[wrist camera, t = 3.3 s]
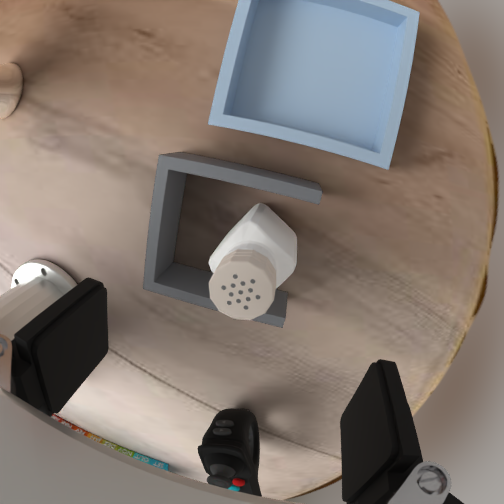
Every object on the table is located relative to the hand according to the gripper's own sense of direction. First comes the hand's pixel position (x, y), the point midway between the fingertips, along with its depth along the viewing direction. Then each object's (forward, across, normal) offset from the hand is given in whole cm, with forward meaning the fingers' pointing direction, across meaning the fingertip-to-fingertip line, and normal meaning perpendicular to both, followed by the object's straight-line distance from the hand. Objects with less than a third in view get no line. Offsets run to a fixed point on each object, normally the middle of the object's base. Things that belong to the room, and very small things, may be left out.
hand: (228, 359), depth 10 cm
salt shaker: (+15, +1, 0) cm, 15 cm away
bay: (+15, +3, +1) cm, 15 cm away
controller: (+15, -2, +22) cm, 26 cm away
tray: (+15, 0, -12) cm, 20 cm away
